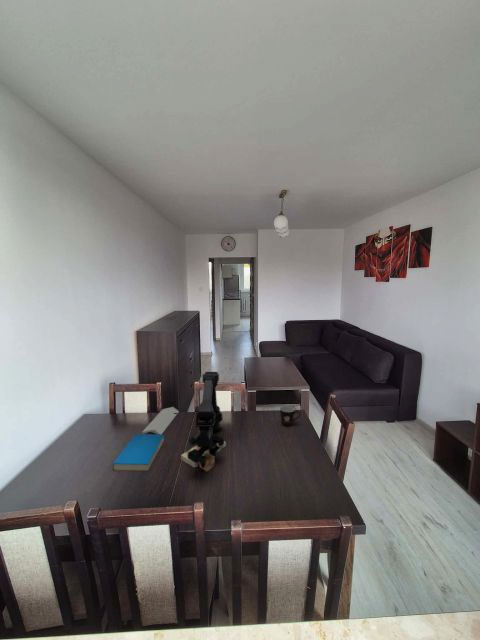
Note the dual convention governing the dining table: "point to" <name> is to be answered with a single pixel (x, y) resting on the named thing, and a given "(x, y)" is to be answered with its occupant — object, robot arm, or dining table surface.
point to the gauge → (208, 462)
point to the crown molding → (161, 421)
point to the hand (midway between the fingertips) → (207, 464)
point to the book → (139, 452)
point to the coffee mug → (287, 415)
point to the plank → (185, 455)
